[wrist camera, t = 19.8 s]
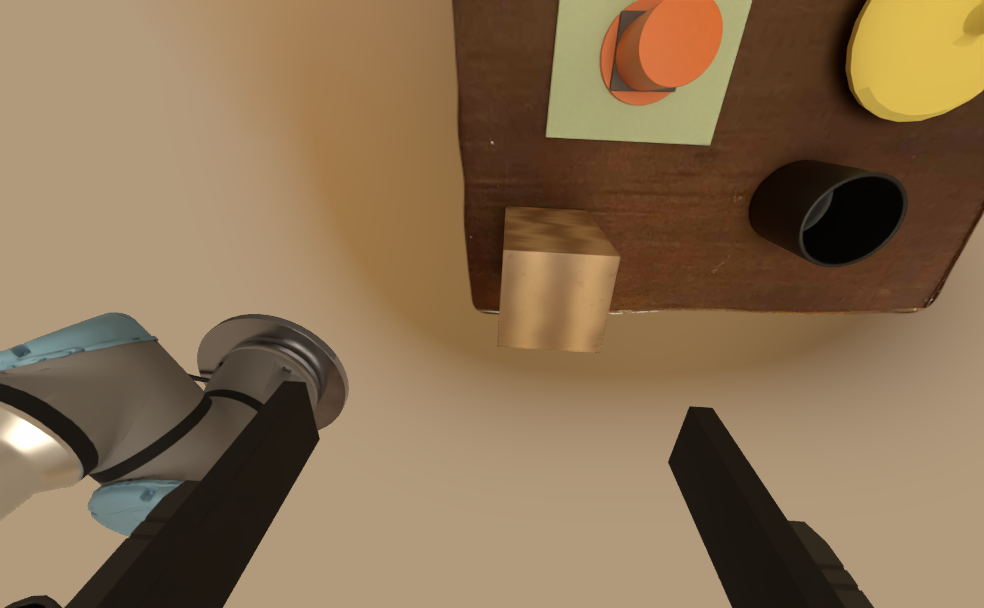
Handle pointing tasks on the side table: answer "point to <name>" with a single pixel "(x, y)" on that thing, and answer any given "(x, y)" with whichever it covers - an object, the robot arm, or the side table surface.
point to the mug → (829, 211)
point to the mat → (600, 116)
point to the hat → (659, 48)
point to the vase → (916, 57)
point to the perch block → (555, 280)
